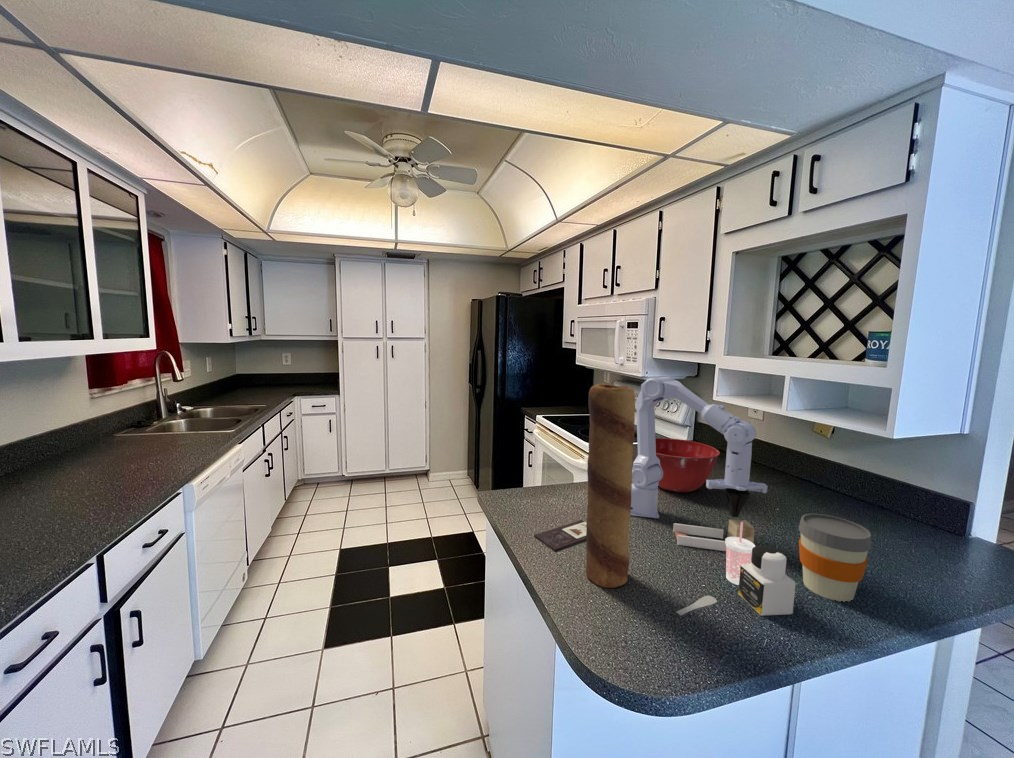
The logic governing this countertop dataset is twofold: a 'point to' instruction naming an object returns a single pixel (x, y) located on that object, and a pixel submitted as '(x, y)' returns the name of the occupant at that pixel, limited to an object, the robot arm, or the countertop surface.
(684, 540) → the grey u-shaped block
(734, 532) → the maple block
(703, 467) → the mixing bowl
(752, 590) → the medicine bottle
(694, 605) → the grey flat paddle piece
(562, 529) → the chocolate bar
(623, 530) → the wafer roll
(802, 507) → the countertop surface
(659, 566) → the countertop surface
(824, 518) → the reusable coffee cup
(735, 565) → the beverage cup
